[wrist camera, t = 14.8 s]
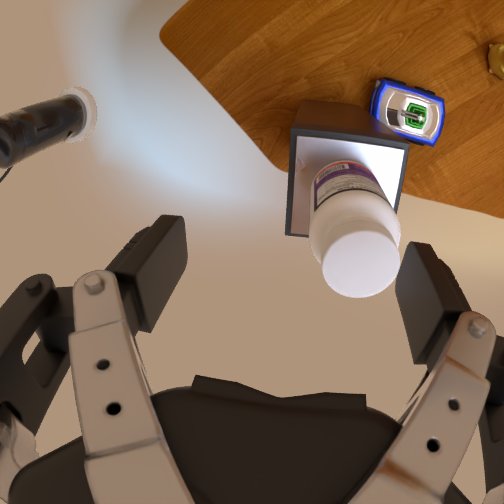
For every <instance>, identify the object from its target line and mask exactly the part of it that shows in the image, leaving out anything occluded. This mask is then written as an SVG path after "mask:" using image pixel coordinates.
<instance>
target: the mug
mask: <svg viewBox="0 0 504 504" xmlns="http://www.w3.org/2000/svg"><path fill="white" fill-rule="evenodd" d="M489 49H490V50H489V53H488V61H489V65H490V68H489V72H490V73H492V74H493V73H494V74H495V75H497V76H498V77H499V78H501V79H503V80H504V43H498V44H495V45H493V44H489Z"/></svg>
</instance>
